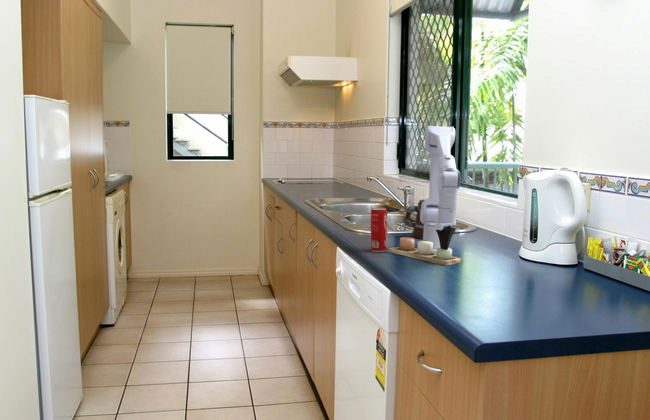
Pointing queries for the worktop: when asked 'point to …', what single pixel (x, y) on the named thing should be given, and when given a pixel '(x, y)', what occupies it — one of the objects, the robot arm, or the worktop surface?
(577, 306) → the worktop surface
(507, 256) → the worktop surface
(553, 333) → the worktop surface
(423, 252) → the button cream
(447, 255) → the button sage
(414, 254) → the wooden board
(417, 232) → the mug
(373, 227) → the beverage can
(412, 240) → the button terracotta
